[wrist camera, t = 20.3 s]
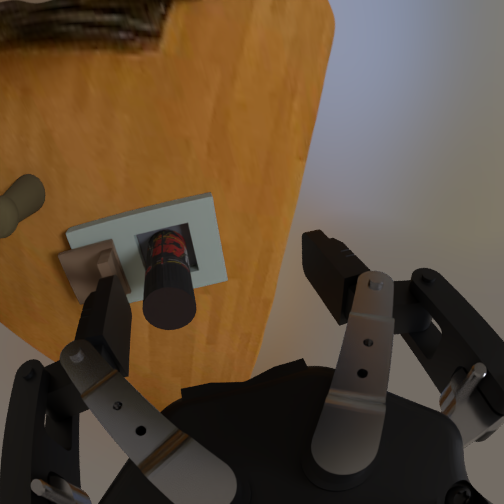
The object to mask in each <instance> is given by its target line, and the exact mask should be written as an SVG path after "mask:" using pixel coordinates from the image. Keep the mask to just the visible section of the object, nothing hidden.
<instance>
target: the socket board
mask: <svg viewBox="0 0 504 504" xmlns="http://www.w3.org/2000/svg"><path fill="white" fill-rule="evenodd" d="M188 225H189V227H188ZM165 229H170V230H174V231H176V232H178V233H180V234H181V235H182V236H183V238H184V239H185V242H186V246H187V253H188V259H189V266H190V272H191V278H192V284H193V288H198V287H202V286H206V285H211V284H215V283H219V282H223V281H227V280H228V279H227V274H226V268H225V263H224V258H223V252H222V247H221V242H220V236H219V231H218V225H217V220H216V214H215V208H214V203H213V197H212V194H211V192H209V193H204V194H200V195H195V196H190V197H186V198H181V199H177V200H173V201H168V202H164V203H160V204H156V205H152V206H148V207H144V208H140V209H136V210H132V211H128V212H124V213H120V214H116V215H113V216H109V217H105V218H102V219H98V220H94V221H91V222H87V223H84V224H80V225H77V226H74V227H70V228H69V229H68V230H67V232H66V236H67V239H68V241H69V244H70V246H71V249H75V248H79V247H82V246H86V245H90V244H94V243H97V242H101V241H105V240H109V239H112V240H113V242H114V245H115V248H116V251H117V254H118V257H119V260H120V262H121V265H122V268H123V270H124V273H125V276H126V278H127V281H128V284H129V286H130V289H131V293H130V294H127V295H126V297H127V299H128V302H129V303H132V302H136V301H141V300H143V294H144V280H145V268H146V264H145V263H146V257H147V247H148V242H149V240H150V238H151V237H152V236H153V234H155V233H156V232H158V231H160V230H165ZM189 229H190V231H189ZM190 234H191V236H190ZM136 235H137V236H136ZM137 238H138V239H137ZM191 238H192V240H191ZM138 241H139V242H138ZM192 242H193V244H192ZM139 244H140V245H139ZM140 247H141V248H140ZM193 247H194V249H193ZM141 250H142V252H141ZM194 251H195V253H194ZM142 254H143V255H142ZM195 255H196V257H195ZM143 257H144V258H143ZM196 259H197V261H196ZM144 260H145V261H144Z"/></svg>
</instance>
